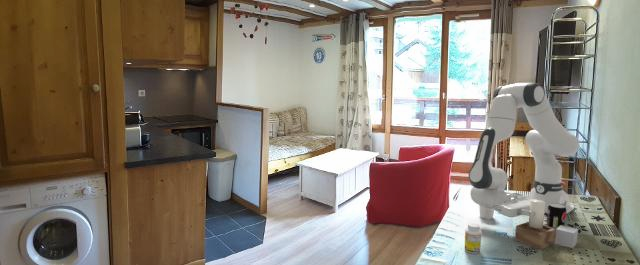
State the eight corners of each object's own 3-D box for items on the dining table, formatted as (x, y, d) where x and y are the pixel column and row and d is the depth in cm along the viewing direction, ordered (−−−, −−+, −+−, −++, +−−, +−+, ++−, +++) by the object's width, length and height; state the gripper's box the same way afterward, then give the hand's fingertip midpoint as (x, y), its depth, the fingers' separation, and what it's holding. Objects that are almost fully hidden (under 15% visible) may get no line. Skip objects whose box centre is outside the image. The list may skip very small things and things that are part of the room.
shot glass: (495, 219, 177) (496, 205, 176) (479, 218, 178) (480, 204, 177) (492, 214, 184) (493, 200, 183) (477, 213, 185) (477, 199, 184)
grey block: (559, 239, 156) (560, 225, 155) (576, 243, 151) (578, 229, 151) (554, 243, 152) (556, 229, 151) (572, 248, 147) (574, 233, 146)
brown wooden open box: (530, 234, 160) (531, 220, 159) (554, 243, 151) (556, 229, 150) (515, 240, 155) (516, 225, 154) (539, 249, 146) (541, 234, 145)
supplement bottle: (467, 246, 149) (468, 221, 148) (482, 250, 145) (483, 224, 144) (462, 251, 145) (463, 225, 143) (477, 255, 141) (478, 228, 140)
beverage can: (558, 237, 157) (560, 208, 156) (542, 231, 163) (544, 204, 162) (567, 234, 160) (570, 206, 159) (552, 228, 166) (554, 201, 165)
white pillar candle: (533, 222, 155) (535, 198, 154) (545, 226, 151) (547, 202, 150) (525, 225, 153) (527, 200, 152) (538, 229, 149) (540, 204, 147)
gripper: (490, 199, 157) (523, 209, 145) (521, 192, 167) (554, 201, 155) (489, 214, 158) (522, 225, 146) (520, 206, 168) (552, 216, 156)
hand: (538, 213), depth 151 cm, fingers closed on white pillar candle, 5 cm apart
